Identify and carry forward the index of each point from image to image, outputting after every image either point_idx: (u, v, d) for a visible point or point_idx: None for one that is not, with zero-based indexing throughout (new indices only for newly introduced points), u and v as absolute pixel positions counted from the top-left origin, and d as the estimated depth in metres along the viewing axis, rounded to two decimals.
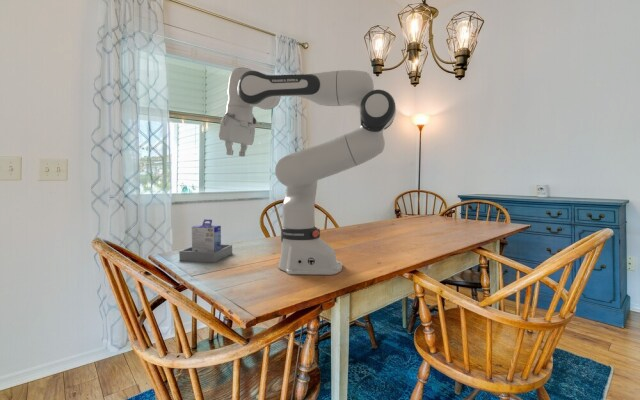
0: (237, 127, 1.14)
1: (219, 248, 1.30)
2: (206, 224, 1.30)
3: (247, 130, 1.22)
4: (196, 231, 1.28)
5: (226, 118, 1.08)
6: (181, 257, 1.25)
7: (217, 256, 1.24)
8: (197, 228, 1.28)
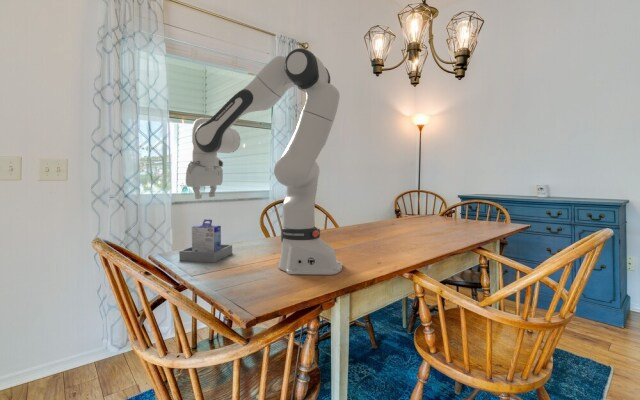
0: (203, 173, 1.24)
1: (219, 248, 1.30)
2: (206, 224, 1.30)
3: (214, 173, 1.32)
4: (196, 231, 1.28)
5: (191, 167, 1.18)
6: (181, 257, 1.25)
7: (217, 256, 1.24)
8: (197, 228, 1.28)
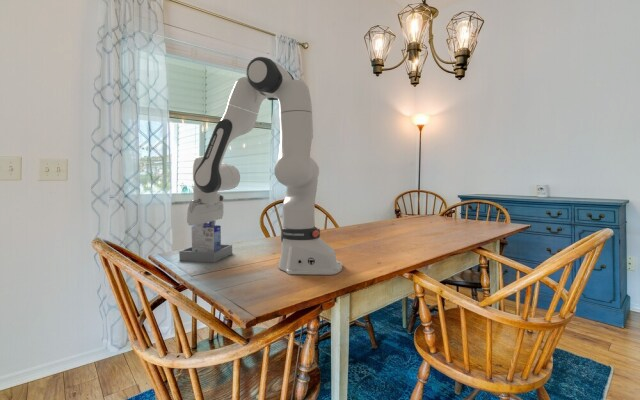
0: (204, 210, 1.25)
1: (219, 248, 1.30)
2: (206, 224, 1.30)
3: (215, 208, 1.33)
4: (196, 231, 1.28)
5: (192, 206, 1.19)
6: (181, 257, 1.25)
7: (217, 256, 1.24)
8: None
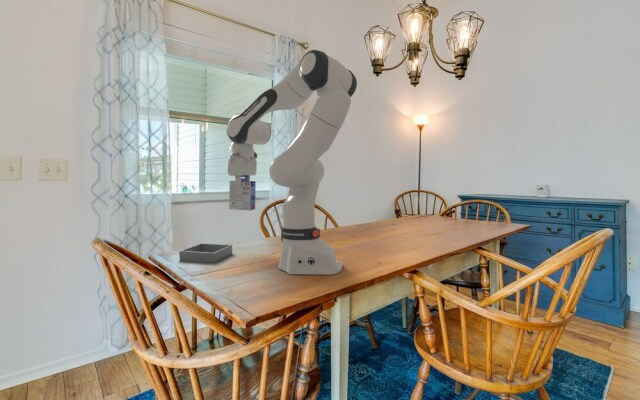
0: (242, 163, 1.36)
1: (254, 202, 1.41)
2: (242, 179, 1.41)
3: (250, 164, 1.44)
4: (234, 185, 1.39)
5: (232, 157, 1.31)
6: (181, 257, 1.25)
7: (217, 256, 1.24)
8: (235, 182, 1.39)
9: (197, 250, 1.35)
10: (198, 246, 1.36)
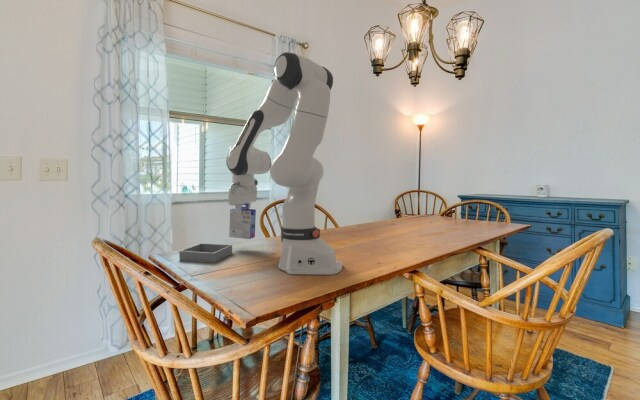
0: (242, 192, 1.38)
1: (254, 230, 1.43)
2: (243, 207, 1.42)
3: (250, 191, 1.45)
4: (234, 213, 1.40)
5: (233, 187, 1.32)
6: (181, 257, 1.25)
7: (217, 256, 1.24)
8: (235, 210, 1.40)
9: (197, 250, 1.35)
10: (198, 246, 1.36)
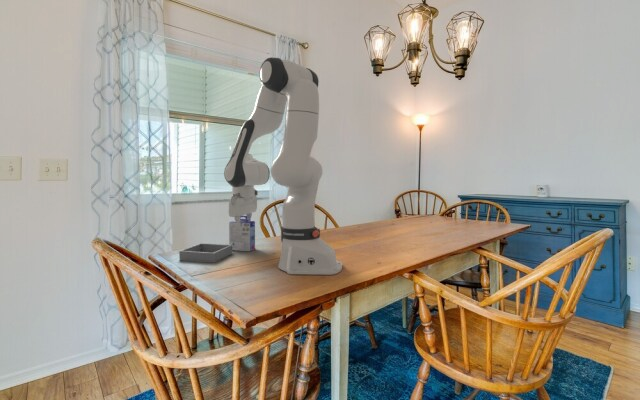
0: (243, 203, 1.38)
1: (254, 242, 1.42)
2: (242, 220, 1.42)
3: (250, 201, 1.45)
4: (233, 226, 1.40)
5: (233, 199, 1.32)
6: (181, 257, 1.25)
7: (217, 256, 1.24)
8: (234, 223, 1.40)
9: (197, 250, 1.35)
10: (198, 246, 1.36)
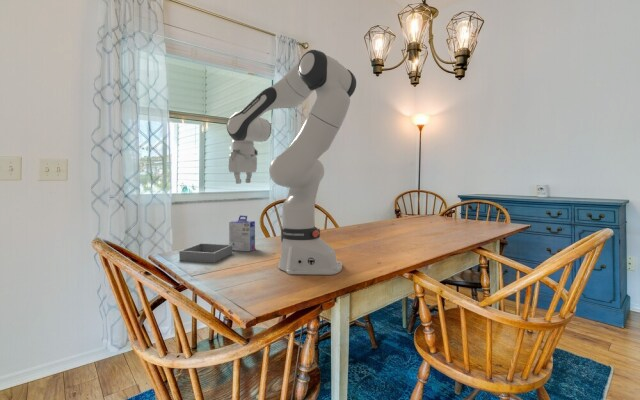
0: (243, 160, 1.38)
1: (254, 242, 1.42)
2: (242, 220, 1.42)
3: (250, 161, 1.45)
4: (233, 226, 1.40)
5: (233, 154, 1.32)
6: (181, 257, 1.25)
7: (217, 256, 1.24)
8: (234, 223, 1.40)
9: (197, 250, 1.35)
10: (198, 246, 1.36)
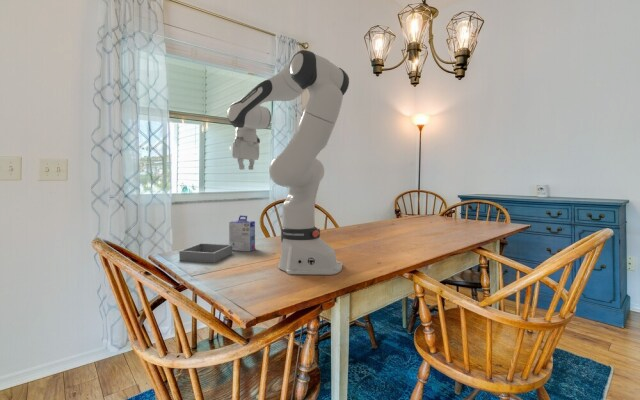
0: (246, 147, 1.44)
1: (254, 242, 1.42)
2: (242, 220, 1.42)
3: (253, 148, 1.52)
4: (233, 226, 1.40)
5: (237, 141, 1.38)
6: (181, 257, 1.25)
7: (217, 256, 1.24)
8: (234, 223, 1.40)
9: (197, 250, 1.35)
10: (198, 246, 1.36)
